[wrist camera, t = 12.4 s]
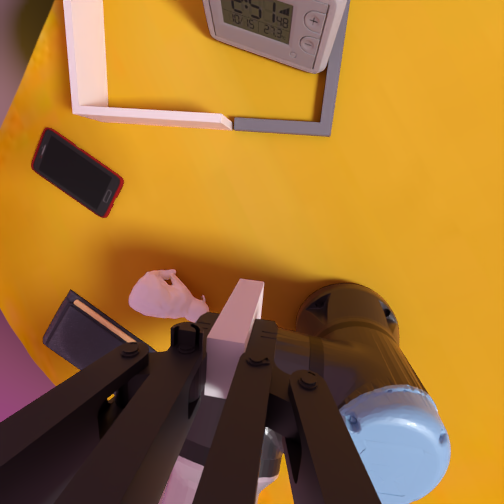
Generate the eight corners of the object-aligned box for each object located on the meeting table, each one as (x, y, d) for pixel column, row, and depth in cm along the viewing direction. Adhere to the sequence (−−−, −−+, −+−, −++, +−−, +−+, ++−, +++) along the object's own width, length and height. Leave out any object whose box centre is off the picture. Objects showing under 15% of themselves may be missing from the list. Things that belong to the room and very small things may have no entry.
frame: (357, -59, 32) (359, -67, 31) (329, 136, 38) (330, 135, 37) (246, -56, 34) (245, -64, 33) (235, 130, 40) (233, 129, 39)
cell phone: (107, 219, 47) (103, 220, 46) (34, 168, 47) (29, 168, 46) (127, 179, 45) (123, 179, 44) (50, 125, 44) (44, 124, 44)
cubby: (242, -56, 34) (231, -103, 28) (232, 130, 40) (221, 122, 34) (92, -53, 37) (55, -95, 31) (103, 121, 43) (72, 113, 37)
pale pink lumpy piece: (133, 277, 39) (209, 320, 40) (157, 257, 47) (220, 293, 48) (116, 312, 41) (189, 351, 42) (142, 286, 49) (203, 320, 50)
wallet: (34, 344, 55) (66, 289, 50) (43, 338, 56) (74, 285, 52) (117, 405, 55) (156, 357, 51) (123, 398, 57) (160, 351, 53)
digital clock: (204, 34, 37) (169, -18, 27) (238, -41, 35) (213, -131, 25) (307, 100, 38) (310, 72, 27) (349, 30, 35) (369, -30, 25)
